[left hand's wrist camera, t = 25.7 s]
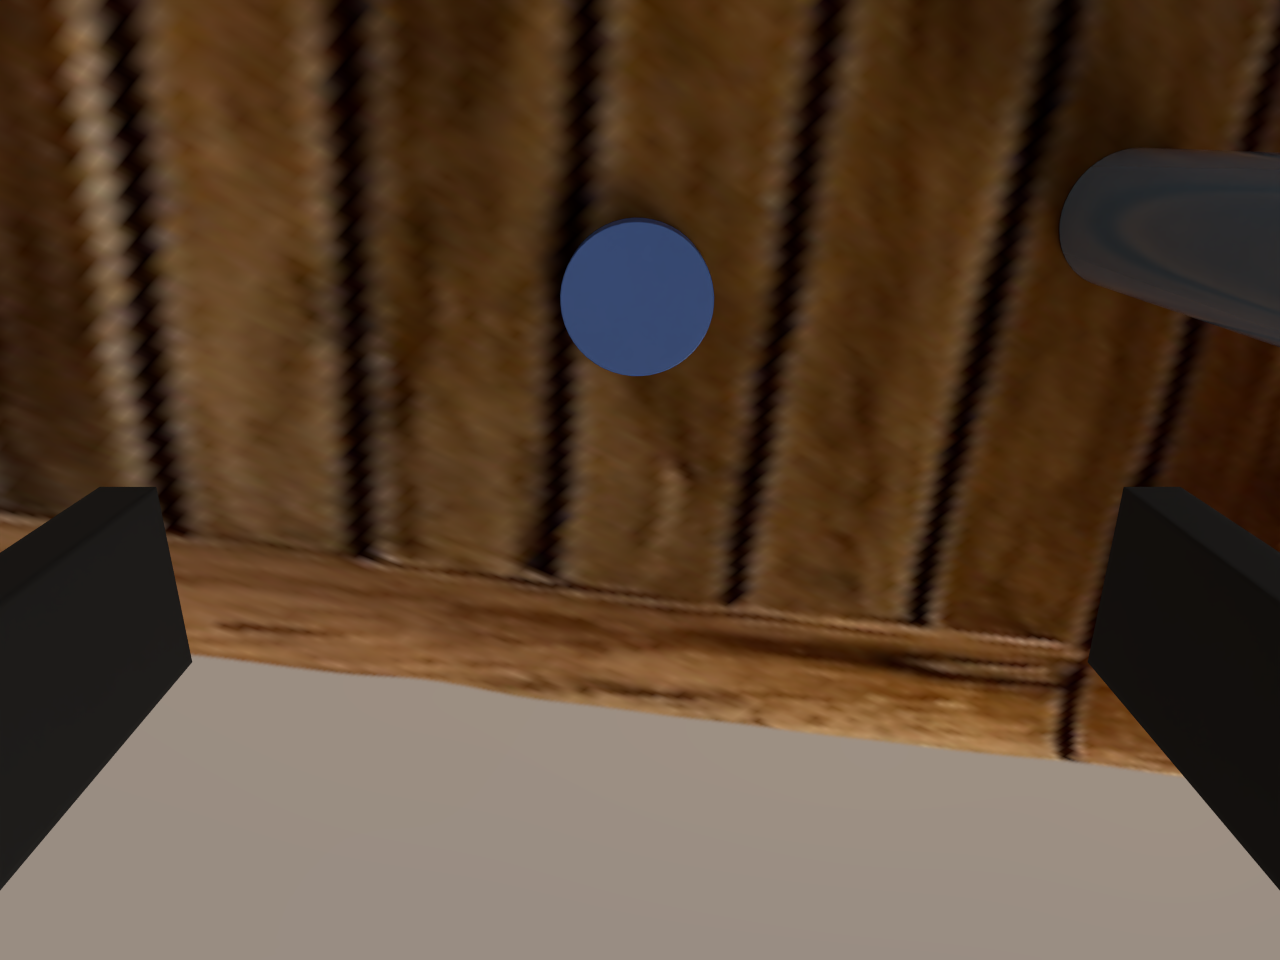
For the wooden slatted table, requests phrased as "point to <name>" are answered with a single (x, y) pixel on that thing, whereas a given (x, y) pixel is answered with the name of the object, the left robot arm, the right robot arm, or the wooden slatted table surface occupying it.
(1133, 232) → the jar
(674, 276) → the lid
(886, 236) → the wooden slatted table surface
